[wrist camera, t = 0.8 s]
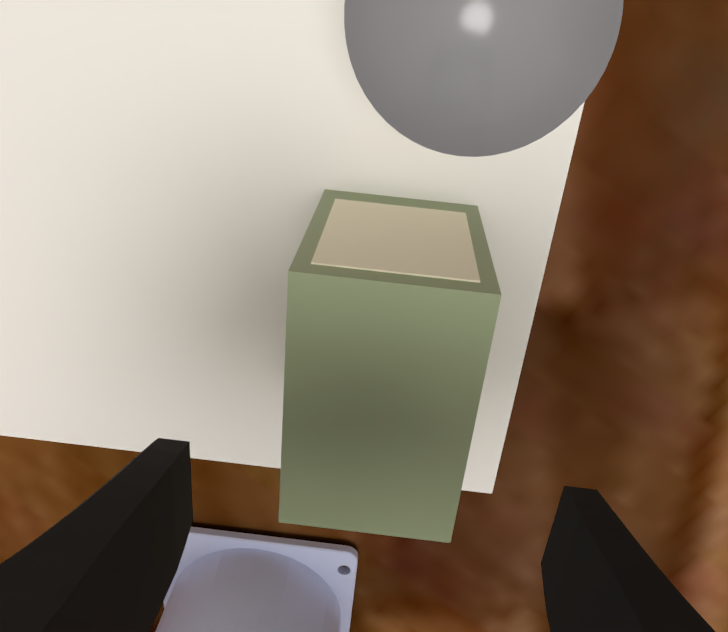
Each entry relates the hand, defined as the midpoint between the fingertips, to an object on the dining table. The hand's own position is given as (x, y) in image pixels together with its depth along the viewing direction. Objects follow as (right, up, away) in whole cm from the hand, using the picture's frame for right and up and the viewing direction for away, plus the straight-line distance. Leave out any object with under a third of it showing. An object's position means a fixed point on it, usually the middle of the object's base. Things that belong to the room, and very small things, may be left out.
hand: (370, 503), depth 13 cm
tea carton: (+1, +4, +8) cm, 9 cm away
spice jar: (+2, +11, +4) cm, 12 cm away
